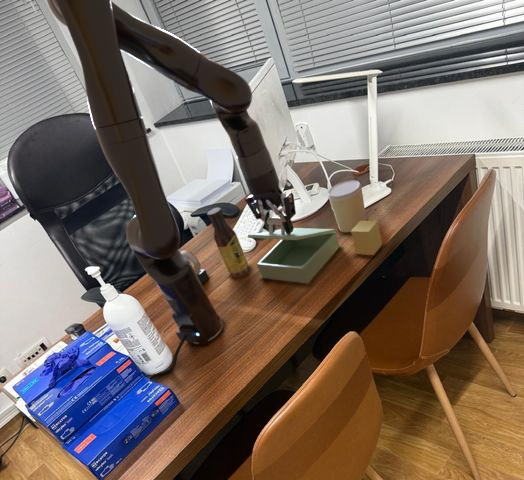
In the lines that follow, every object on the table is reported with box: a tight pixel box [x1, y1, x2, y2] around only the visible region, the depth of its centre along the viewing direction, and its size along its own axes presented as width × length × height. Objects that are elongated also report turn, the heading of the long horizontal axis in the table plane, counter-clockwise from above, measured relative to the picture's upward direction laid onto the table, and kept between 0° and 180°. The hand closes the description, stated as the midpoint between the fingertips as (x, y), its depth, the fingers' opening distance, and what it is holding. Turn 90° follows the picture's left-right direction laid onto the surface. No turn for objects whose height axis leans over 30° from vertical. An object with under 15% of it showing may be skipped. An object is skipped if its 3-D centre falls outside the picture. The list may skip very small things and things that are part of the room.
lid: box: [247, 216, 336, 240], centre depth 118 cm, size 17×16×5 cm
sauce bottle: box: [206, 207, 250, 278], centre depth 127 cm, size 7×6×20 cm
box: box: [256, 231, 340, 284], centre depth 123 cm, size 17×16×5 cm
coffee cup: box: [327, 179, 367, 233], centre depth 126 cm, size 9×9×12 cm
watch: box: [179, 249, 210, 286], centre depth 134 cm, size 6×8×11 cm
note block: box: [350, 220, 383, 256], centre depth 116 cm, size 5×5×8 cm
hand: (281, 232), depth 116 cm, fingers closed on lid, 5 cm apart
